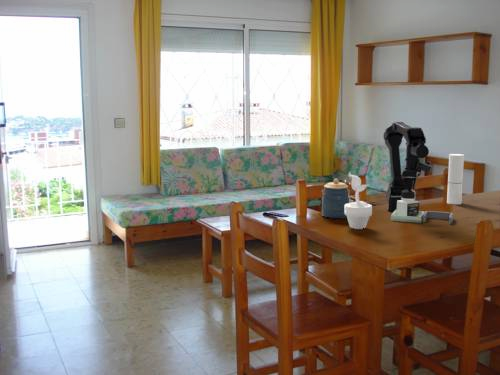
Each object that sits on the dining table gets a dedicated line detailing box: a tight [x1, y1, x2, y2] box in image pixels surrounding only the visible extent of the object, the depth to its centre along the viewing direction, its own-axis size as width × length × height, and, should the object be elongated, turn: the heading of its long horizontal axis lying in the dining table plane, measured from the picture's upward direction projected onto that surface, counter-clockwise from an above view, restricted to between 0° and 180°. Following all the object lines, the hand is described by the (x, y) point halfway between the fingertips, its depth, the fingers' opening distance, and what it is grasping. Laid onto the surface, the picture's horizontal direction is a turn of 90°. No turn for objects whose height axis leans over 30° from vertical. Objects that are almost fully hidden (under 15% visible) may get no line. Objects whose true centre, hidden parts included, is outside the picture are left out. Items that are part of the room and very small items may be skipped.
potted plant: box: [344, 172, 373, 230], centre depth 250 cm, size 13×12×25 cm
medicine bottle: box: [397, 189, 420, 217], centre depth 269 cm, size 7×7×12 cm
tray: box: [390, 210, 425, 224], centre depth 269 cm, size 13×13×2 cm
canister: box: [321, 178, 351, 219], centre depth 275 cm, size 13×13×18 cm
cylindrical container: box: [446, 153, 465, 205], centre depth 303 cm, size 7×7×25 cm
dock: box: [422, 210, 454, 225], centre depth 265 cm, size 12×11×3 cm
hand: (411, 190), depth 267 cm, fingers open, 9 cm apart
